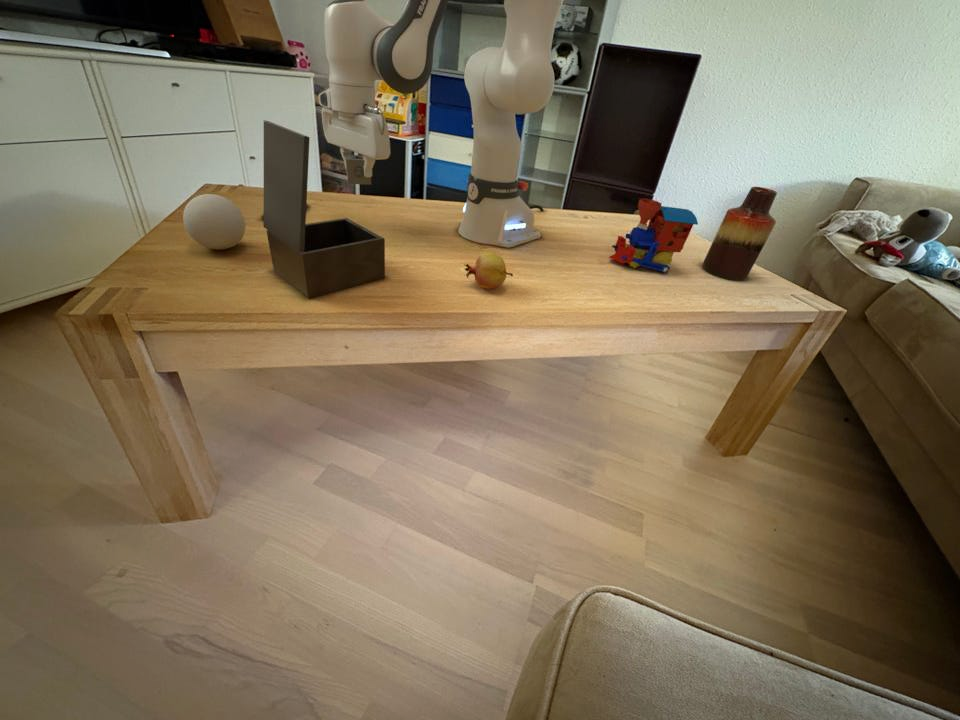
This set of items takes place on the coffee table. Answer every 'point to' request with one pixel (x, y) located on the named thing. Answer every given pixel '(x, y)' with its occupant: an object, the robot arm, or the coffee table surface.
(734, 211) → the vase
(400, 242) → the coffee table surface
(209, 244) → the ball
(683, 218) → the toy train
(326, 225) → the box
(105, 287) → the coffee table surface
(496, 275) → the fruit
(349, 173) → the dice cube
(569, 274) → the coffee table surface
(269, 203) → the lid
